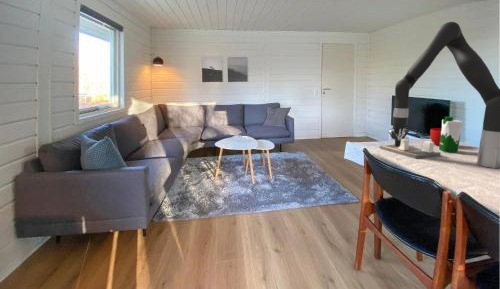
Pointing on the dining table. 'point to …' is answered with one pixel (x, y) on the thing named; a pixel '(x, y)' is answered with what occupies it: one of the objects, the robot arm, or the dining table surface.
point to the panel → (410, 151)
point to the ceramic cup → (435, 135)
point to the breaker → (428, 146)
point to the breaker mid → (404, 144)
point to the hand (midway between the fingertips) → (397, 146)
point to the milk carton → (450, 135)
